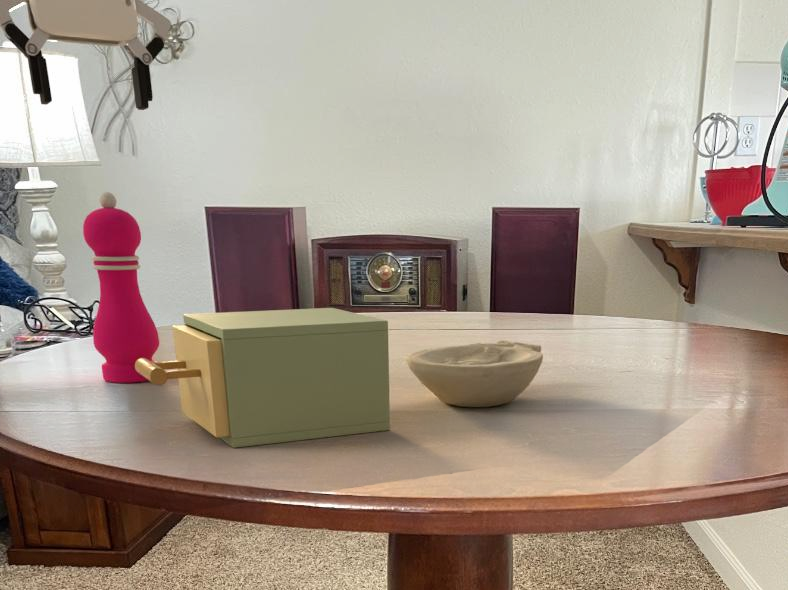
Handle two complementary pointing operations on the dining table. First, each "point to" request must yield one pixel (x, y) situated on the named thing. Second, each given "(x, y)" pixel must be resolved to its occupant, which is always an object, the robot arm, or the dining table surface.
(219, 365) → the drawer
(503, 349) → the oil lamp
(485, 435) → the dining table surface
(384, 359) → the cabinet
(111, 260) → the pepper mill
